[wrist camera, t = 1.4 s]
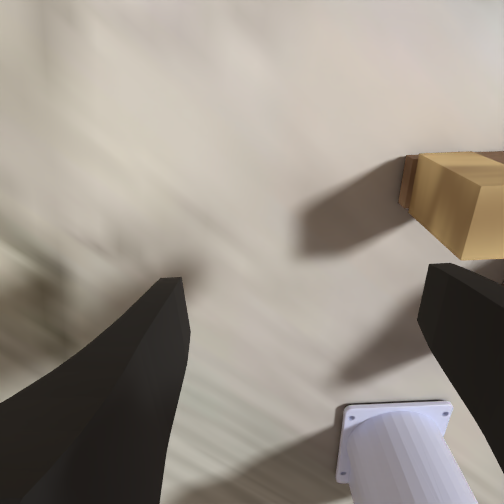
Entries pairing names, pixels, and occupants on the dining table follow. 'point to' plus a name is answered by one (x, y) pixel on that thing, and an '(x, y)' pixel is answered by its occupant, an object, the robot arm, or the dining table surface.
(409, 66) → the dining table surface
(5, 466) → the robot arm
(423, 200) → the wooden t-shaped handle
